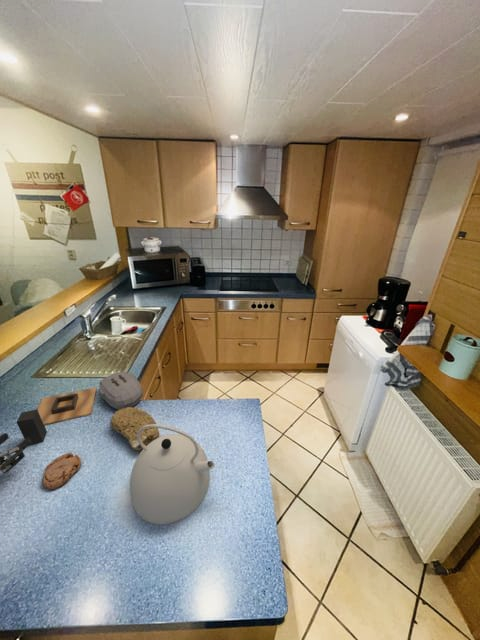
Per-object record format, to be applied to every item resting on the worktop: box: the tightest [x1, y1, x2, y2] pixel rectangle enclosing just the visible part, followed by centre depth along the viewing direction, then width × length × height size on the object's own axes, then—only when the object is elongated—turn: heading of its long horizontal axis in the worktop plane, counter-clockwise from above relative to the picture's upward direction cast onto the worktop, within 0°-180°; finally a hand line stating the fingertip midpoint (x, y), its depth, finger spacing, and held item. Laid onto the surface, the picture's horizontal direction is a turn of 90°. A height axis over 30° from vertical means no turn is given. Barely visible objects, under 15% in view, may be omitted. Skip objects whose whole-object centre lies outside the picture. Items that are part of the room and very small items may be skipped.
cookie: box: [42, 452, 82, 490], centre depth 76 cm, size 10×11×3 cm
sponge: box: [109, 406, 161, 451], centre depth 89 cm, size 13×8×20 cm
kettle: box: [129, 423, 216, 525], centre depth 70 cm, size 25×23×23 cm
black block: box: [16, 408, 48, 447], centre depth 85 cm, size 4×4×11 cm
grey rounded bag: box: [98, 370, 144, 411], centre depth 106 cm, size 15×8×20 cm
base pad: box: [36, 387, 97, 426], centre depth 101 cm, size 20×16×3 cm
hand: (18, 437), depth 81 cm, fingers open, 8 cm apart
